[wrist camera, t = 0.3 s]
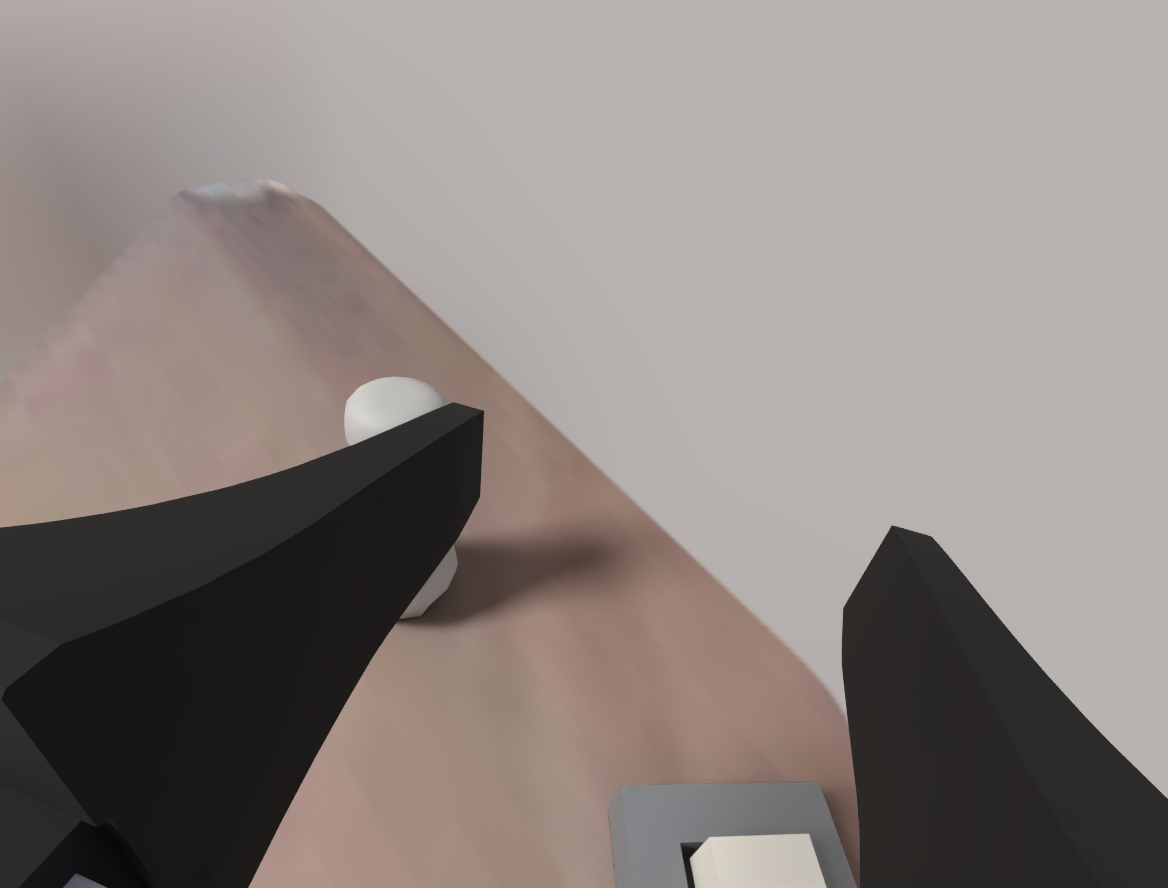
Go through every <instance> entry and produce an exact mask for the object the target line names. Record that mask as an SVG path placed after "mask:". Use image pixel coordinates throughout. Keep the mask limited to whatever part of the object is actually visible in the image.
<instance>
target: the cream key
mask: <svg viewBox="0 0 1168 888" xmlns="http://www.w3.org/2000/svg"><path fill="white" fill-rule="evenodd" d="M690 863H691V868H692V873H693V879H694V884H695V888H827V887H826V884H825V881H824V878H823V875H822V872H821V869H820V866H819V863H818V860H817V857H816V854H815V851H814V848H813V845H812V842H811V839H810V836H809V834H782V835H754V836H725V837H709V838H708V839H707V840H706V841H705V842H704V843H703V845H702V846H701V847H700V848H699V849H698V850H697V851H696V852H695V853H694V854H693V856H692V857H691V858H690Z"/></svg>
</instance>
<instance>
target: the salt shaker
mask: <svg viewBox="0 0 1168 888" xmlns="http://www.w3.org/2000/svg"><path fill="white" fill-rule="evenodd" d="M445 405H447V401H446V399H445V398H444V397H443V396H442V395H441V394H440V393H439V392H438V391H437V390H436V389H435V388H433V387H432V386H430V385H429V384H426V383H424V382H421V381H419V380H416V379H413V378H405V377H397V376H394V377H387V378H380V379H376V380H374V381H371V382H369V383H367V384H364V385H362V386H361V387H359V388H358V389H357V390H356V391H355V392H354V393H353V394H352V396H351V397H350V398H349V399H348V400H347V402H346V409H345V427H344V429H345V435H346V441H347V443H348V444H349V446H351V445H354V444H356V443H359V442H361V441H363V440H366V439H368V438H370V437H373V436H375V435H377V434H380V433H382V432H384V431H387V430H389V429H391V428H394V427H396V426H398V425H401V424H403V423H405V422H407V421H410V420H412V419H414V418H417V417H419V416H421V415H423V414H426V413H428V412H430V411H433V410H435V409H437V408H440V407H442V406H445ZM457 566H458V562H457V556H456V551H455V546H454V545H453V546H452V547H451V549H450V550H449V552H448V553H447V554H446V556H445V557H444V558H443V560H442V561H441V563H440V564H439V565H438V567H437V568H436V570H435V571H434V572H433V574H432V575H431V576H430V578H429V579H428V580H427V582H426V583H425V585H424V586H423V587H422V589H421V590H420V591H419V593H418V594H417V595H416V597H415V598H414V599H413V601H412V602H411V603H410V605H409V606H408V608H407V609H406V610H405V612H404V613H403V614H402V616H401V617H400V618H399V619H404V618H411V617H418V616H421V615H422V614H423V613H424V611H425V610H426V609H427V608H428V607H429V605H430V604H432V603H433V602H434V601H435V600H436V599H437V598H438V597H439V596H440V595H442V594H443V593H444V592H445V591H446V590H447V589H448V587H449V585H450V582H451V580H452V578H453V576H454V573H455V571H456V569H457Z"/></svg>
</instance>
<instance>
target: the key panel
mask: <svg viewBox="0 0 1168 888" xmlns="http://www.w3.org/2000/svg"><path fill="white" fill-rule="evenodd" d="M608 814H609V824H610V834H611V843H612V853H613V862H614V872H615V882H616V888H695V884H694V879H693V873H692V868H691V863H690V858H691V857H692V856H693V854H694V853H695V852H696V851H697V850H698V849H699V848H700V847H701V846H702V845H703V843H704V842H705V841H706V840H707V839H708V838H709V837H725V836H754V835H782V834H809V836H810V839H811V842H812V845H813V848H814V851H815V854H816V857H817V860H818V863H819V866H820V869H821V872H822V875H823V878H824V881H825V884H826V887H827V888H857V886H856V883H855V880H854V877H853V875H852V872H851V869H850V866H849V864H848V861H847V858H846V855H845V852H844V850H843V847H842V844H841V841H840V839H839V836H838V833H837V830H836V827H835V825H834V822H833V819H832V816H831V814H830V811H829V808H828V805H827V803H826V800H825V797H824V794H823V791H822V789H821V786H820V783H819V782H789V783H731V784H672V785H621V786H620V788H619V790H618V791H617V793H616V795H615V797H614V798H613V800H612V802H611V804H610V806H609V807H608Z"/></svg>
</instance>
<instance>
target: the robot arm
mask: <svg viewBox="0 0 1168 888" xmlns="http://www.w3.org/2000/svg"><path fill="white" fill-rule="evenodd" d="M483 422H484V411H483V410H479V409H475V408H472V407H468V406H465V405H461V404H458V403H454V402H453V403H450V404H448V405H445V406H442V407H440V408H437V409H435V410H433V411H430V412H428V413H426V414H423V415H421V416H419V417H417V418H414V419H412V420H410V421H407V422H405V423H403V424H401V425H398V426H396V427H394V428H391V429H389V430H387V431H384V432H382V433H380V434H377V435H375V436H373V437H370V438H368V439H366V440H363V441H361V442H359V443H356V444H354V445H351V446H349V447H346V448H343V449H341V450H338V451H335V452H333V453H330V454H328V455H325V456H322V457H320V458H317V459H314V460H312V461H309V462H306V463H304V464H301V465H298V466H295V467H292V468H290V469H287V470H283V471H280V472H277V473H274V474H271V475H268V476H264V477H261V478H258V479H254V480H251V481H247V482H244V483H240V484H237V485H234V486H230V487H226V488H222V489H218V490H214V491H210V492H205V493H201V494H197V495H192V496H188V497H183V498H179V499H175V500H170V501H166V502H162V503H157V504H153V505H148V506H143V507H138V508H132V509H127V510H121V511H116V512H110V513H105V514H98V515H92V516H86V517H79V518H73V519H66V520H60V521H53V522H45V523H38V524H30V525H21V526H12V527H3V528H0V888H248V887H249V885H250V883H251V881H252V879H253V877H254V875H255V873H256V871H257V869H258V867H259V865H260V863H261V861H262V859H263V857H264V855H265V853H266V851H267V849H268V847H269V845H270V843H271V841H272V839H273V837H274V835H275V833H276V831H277V829H278V827H279V825H280V823H281V821H282V819H283V817H284V815H285V813H286V812H287V810H288V808H289V806H290V804H291V802H292V800H293V798H294V796H295V795H296V793H297V791H298V789H299V787H300V785H301V783H302V781H303V779H304V778H305V776H306V774H307V772H308V770H309V768H310V766H311V764H312V762H313V761H314V759H315V757H316V755H317V753H318V751H319V750H320V748H321V746H322V744H323V743H324V741H325V739H326V737H327V735H328V734H329V732H330V730H331V728H332V726H333V725H334V723H335V721H336V719H337V718H338V716H339V714H340V712H341V710H342V709H343V707H344V705H345V703H346V702H347V700H348V698H349V697H350V695H351V693H352V691H353V690H354V688H355V686H356V685H357V683H358V681H359V680H360V678H361V676H362V674H363V673H364V671H365V669H366V668H367V666H368V664H369V663H370V661H371V659H372V657H373V656H374V654H375V653H376V651H377V650H378V648H379V647H380V645H381V644H382V642H383V641H384V639H385V638H386V636H387V635H388V633H389V632H390V631H391V629H392V628H393V627H394V625H395V624H396V622H397V621H398V620H399V618H400V617H401V616H402V614H403V613H404V612H405V610H406V609H407V608H408V606H409V605H410V603H411V602H412V601H413V599H414V598H415V597H416V595H417V594H418V593H419V591H420V590H421V589H422V587H423V586H424V585H425V583H426V582H427V580H428V579H429V578H430V576H431V575H432V574H433V572H434V571H435V570H436V568H437V567H438V565H439V564H440V563H441V561H442V560H443V558H444V557H445V556H446V554H447V553H448V552H449V550H450V549H451V547H452V546H453V545H454V543H455V542H456V540H457V539H458V537H459V535H460V533H461V531H462V530H463V528H464V526H465V524H466V522H467V521H468V519H469V517H470V515H471V513H472V511H473V509H474V507H475V505H476V504H477V502H478V500H479V498H480V485H481V464H482V443H483ZM842 631H843V632H842V670H843V680H844V689H845V698H846V708H847V716H848V725H849V733H850V741H851V750H852V758H853V767H854V775H855V784H856V792H857V802H858V816H859V829H860V888H1168V799H1167V798H1166V797H1165V796H1164V795H1163V794H1162V793H1161V792H1160V791H1159V790H1158V789H1157V788H1156V787H1155V786H1154V785H1153V784H1152V783H1151V782H1150V781H1149V780H1148V779H1147V778H1146V777H1145V776H1144V775H1143V774H1142V773H1141V772H1140V771H1139V770H1138V769H1137V768H1135V767H1134V766H1133V765H1132V764H1131V763H1130V762H1129V761H1128V760H1127V759H1126V758H1125V757H1124V756H1123V755H1122V754H1121V753H1120V752H1119V751H1118V750H1117V749H1116V748H1115V747H1114V746H1113V745H1112V744H1111V743H1110V742H1109V741H1108V740H1107V739H1106V738H1105V737H1104V736H1103V735H1102V734H1101V733H1100V732H1099V731H1098V730H1097V729H1096V728H1095V727H1094V726H1093V724H1092V723H1091V722H1090V721H1089V720H1088V719H1087V718H1086V717H1085V716H1084V715H1083V714H1082V713H1081V712H1080V711H1079V710H1078V708H1077V707H1076V706H1075V705H1074V704H1073V703H1072V702H1071V701H1070V700H1069V698H1068V697H1067V696H1066V695H1065V694H1064V693H1063V692H1062V691H1061V690H1060V689H1059V688H1058V686H1056V684H1055V683H1054V682H1053V681H1052V680H1051V679H1050V678H1049V677H1048V675H1046V673H1045V672H1044V671H1043V670H1042V669H1041V667H1040V666H1039V665H1038V664H1037V663H1036V662H1035V661H1034V659H1033V658H1032V657H1031V656H1030V655H1029V654H1028V652H1027V651H1026V650H1025V649H1024V648H1023V646H1022V645H1021V644H1020V643H1019V642H1018V641H1017V639H1016V638H1015V637H1014V636H1013V635H1012V633H1011V632H1010V631H1009V630H1008V629H1007V627H1006V626H1005V625H1004V624H1003V623H1002V621H1001V620H1000V619H999V618H998V616H997V615H996V614H995V613H994V611H993V610H992V609H991V608H990V607H989V606H988V604H987V603H986V602H985V600H984V599H983V598H982V597H981V595H980V594H979V593H978V592H977V590H976V589H975V588H974V587H973V585H972V584H971V583H970V582H969V581H968V579H967V578H966V577H965V576H964V574H963V573H962V572H961V571H960V569H959V568H958V567H957V566H956V564H955V563H954V562H953V561H952V560H951V558H950V557H949V556H948V555H947V554H946V552H944V550H943V549H942V548H941V547H940V545H939V544H938V543H937V542H936V541H935V540H934V539H933V538H932V537H931V536H928V535H925V534H921V533H918V532H914V531H910V530H907V529H903V528H900V527H896V526H891V528H890V530H889V532H888V533H887V535H886V537H885V538H884V540H883V542H882V544H881V545H880V547H879V548H878V550H877V552H876V553H875V555H874V557H873V559H872V560H871V562H870V564H869V565H868V567H867V569H866V571H865V572H864V574H863V576H862V577H861V579H860V581H859V582H858V584H857V586H856V587H855V589H854V591H853V593H852V594H851V596H850V598H849V599H848V601H847V603H846V604H845V606H844V608H843V630H842Z"/></svg>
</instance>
